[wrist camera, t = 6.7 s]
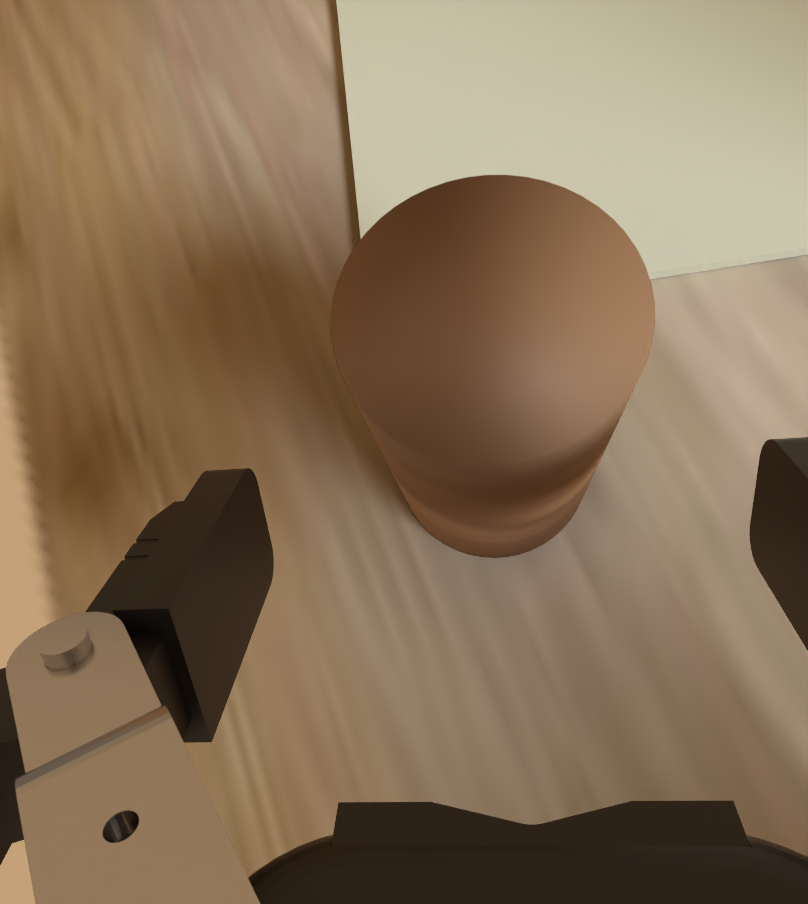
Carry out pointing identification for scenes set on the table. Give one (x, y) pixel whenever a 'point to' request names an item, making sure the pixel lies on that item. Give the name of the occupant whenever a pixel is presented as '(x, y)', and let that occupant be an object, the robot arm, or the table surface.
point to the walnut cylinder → (493, 352)
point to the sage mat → (594, 113)
